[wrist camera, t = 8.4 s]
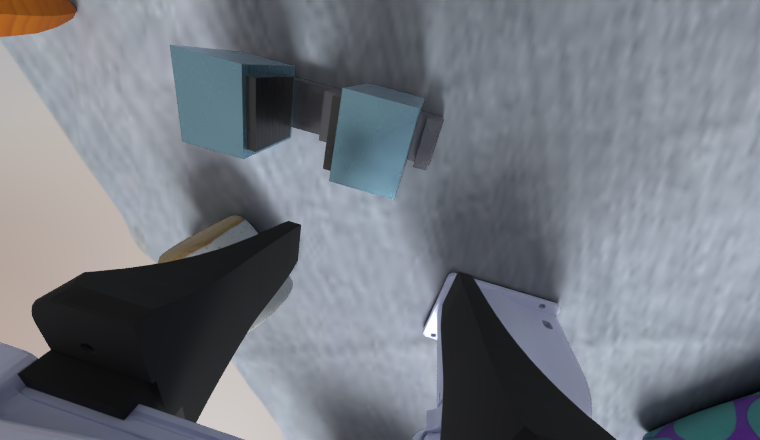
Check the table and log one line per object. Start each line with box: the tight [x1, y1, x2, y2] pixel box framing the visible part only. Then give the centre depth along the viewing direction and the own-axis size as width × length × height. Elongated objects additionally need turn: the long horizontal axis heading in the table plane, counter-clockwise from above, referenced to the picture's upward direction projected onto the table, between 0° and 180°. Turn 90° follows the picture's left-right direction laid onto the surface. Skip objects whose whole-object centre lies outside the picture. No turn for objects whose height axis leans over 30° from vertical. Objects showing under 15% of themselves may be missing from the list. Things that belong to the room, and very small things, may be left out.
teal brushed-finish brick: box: [323, 83, 425, 200], centre depth 16 cm, size 4×4×6 cm
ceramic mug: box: [158, 215, 293, 333], centre depth 24 cm, size 11×8×8 cm
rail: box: [170, 45, 444, 170], centre depth 16 cm, size 14×4×7 cm, turn 77°
